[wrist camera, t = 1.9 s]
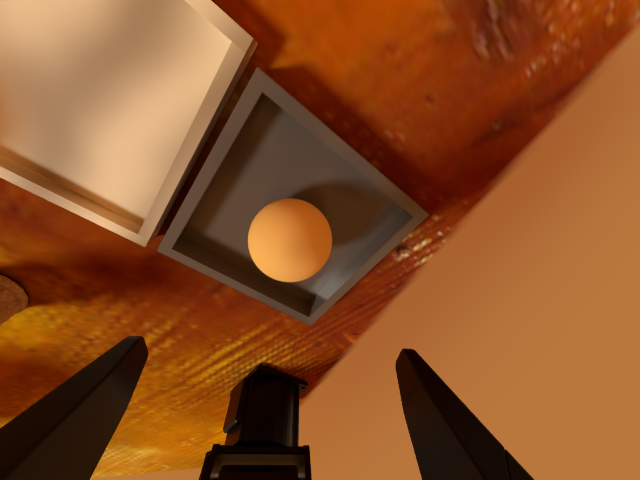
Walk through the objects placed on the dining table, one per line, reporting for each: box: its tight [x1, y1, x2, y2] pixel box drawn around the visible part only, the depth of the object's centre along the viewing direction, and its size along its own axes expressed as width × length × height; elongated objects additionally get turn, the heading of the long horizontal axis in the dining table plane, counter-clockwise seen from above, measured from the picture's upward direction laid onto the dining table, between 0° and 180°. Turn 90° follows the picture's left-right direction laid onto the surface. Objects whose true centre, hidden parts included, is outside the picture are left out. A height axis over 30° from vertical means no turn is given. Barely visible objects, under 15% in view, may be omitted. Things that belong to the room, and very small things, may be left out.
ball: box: [248, 198, 332, 282], centre depth 15 cm, size 5×5×5 cm
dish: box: [157, 67, 429, 326], centre depth 17 cm, size 12×12×2 cm
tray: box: [0, 0, 259, 247], centre depth 13 cm, size 11×14×2 cm
